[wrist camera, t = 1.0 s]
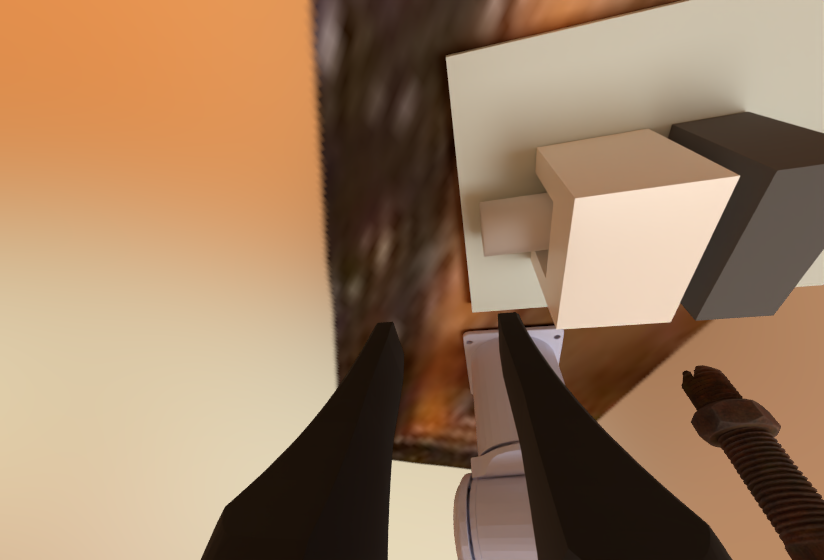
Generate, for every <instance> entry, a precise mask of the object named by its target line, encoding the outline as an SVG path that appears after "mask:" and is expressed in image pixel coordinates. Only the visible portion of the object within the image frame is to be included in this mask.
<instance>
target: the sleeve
mask: <svg viewBox="0 0 824 560" xmlns="http://www.w3.org/2000/svg"><path fill="white" fill-rule="evenodd" d="M535 173H536V175H537V176H538V178H539V180H540V181H541V183H542V184H543V186H544V188H545V189H546V191H547V193H548V194H549V196H550V197H551V199H552V201H553V211H552V221H551V232H550V242H549V250H540V251H531V262H532V265H533V268H534V270H535V273H536V276H537V278H538V281H539V284H540V287H541V289H542V292H543V295H544V297H545V300H546V303H547V306H548V308H549V311H550V314H551V316H552V319H553V322H554V325H555V327H556V330H557V329H573V328H588V327H603V326H618V325H634V324H649V323H664V322H671V320H672V318H673V316H674V314H675V312H676V310H677V308H678V306H679V304H680V302H681V299H682V297H683V295H684V293H685V291H686V289H687V287H688V285H689V283H690V281H691V278H692V276H693V274H694V272H695V270H696V268H697V266H698V264H699V262H700V260H701V257H702V255H703V253H704V251H705V249H706V247H707V245H708V243H709V241H710V239H711V236H712V234H713V232H714V230H715V228H716V226H717V224H718V222H719V220H720V218H721V215H722V213H723V211H724V209H725V207H726V205H727V203H728V201H729V199H730V197H731V194H732V192H733V190H734V188H735V186H736V184H737V182H738V180H739V178H740V175H738V174H736V173H734V172H732V171H730V170H728V169H726V168H725V167H723V166H721V165H719V164H717V163H715V162H713V161H711V160H709V159H707V158H705V157H703V156H701V155H699V154H697V153H695V152H693V151H691V150H689V149H687V148H685V147H683V146H681V145H680V144H678V143H676V142H674V141H672V140H670V139H668V138H666V137H664V136H662V135H660V134H658V133H656V132H654V131H652V130H650V129H642V130H636V131H630V132H624V133H618V134H613V135H607V136H601V137H595V138H589V139H583V140H577V141H571V142H565V143H560V144H554V145H548V146H542V147H537V151H536V169H535Z"/></svg>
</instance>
